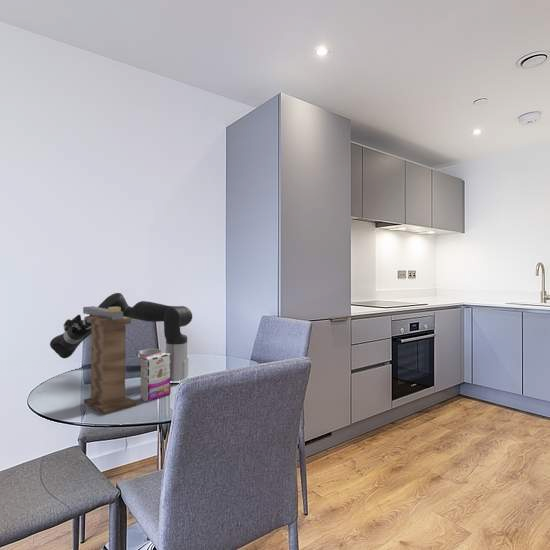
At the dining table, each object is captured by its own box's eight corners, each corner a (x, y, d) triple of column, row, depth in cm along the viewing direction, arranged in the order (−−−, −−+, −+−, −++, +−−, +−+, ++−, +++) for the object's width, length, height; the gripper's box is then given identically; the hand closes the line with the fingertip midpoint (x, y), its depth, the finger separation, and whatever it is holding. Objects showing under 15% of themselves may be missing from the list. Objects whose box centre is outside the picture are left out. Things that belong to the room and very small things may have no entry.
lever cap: (83, 313, 151) (83, 302, 151) (93, 312, 154) (93, 302, 154) (112, 319, 135) (112, 308, 135) (123, 318, 138) (123, 307, 138)
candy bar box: (162, 391, 156) (162, 351, 155) (170, 394, 153) (171, 353, 153) (139, 399, 146) (139, 357, 146) (148, 402, 144) (148, 359, 143)
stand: (83, 402, 142) (83, 316, 141) (114, 394, 151) (115, 314, 151) (104, 414, 131) (105, 321, 130) (136, 405, 140) (137, 318, 139)
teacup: (166, 366, 195) (166, 350, 195) (148, 370, 186) (149, 354, 186) (147, 362, 203) (148, 347, 202) (130, 366, 194) (130, 350, 193)
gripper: (56, 325, 156) (70, 308, 147) (91, 322, 167) (106, 306, 158) (59, 342, 154) (74, 326, 144) (95, 338, 165) (111, 322, 155)
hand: (91, 315), depth 151 cm, fingers open, 8 cm apart
